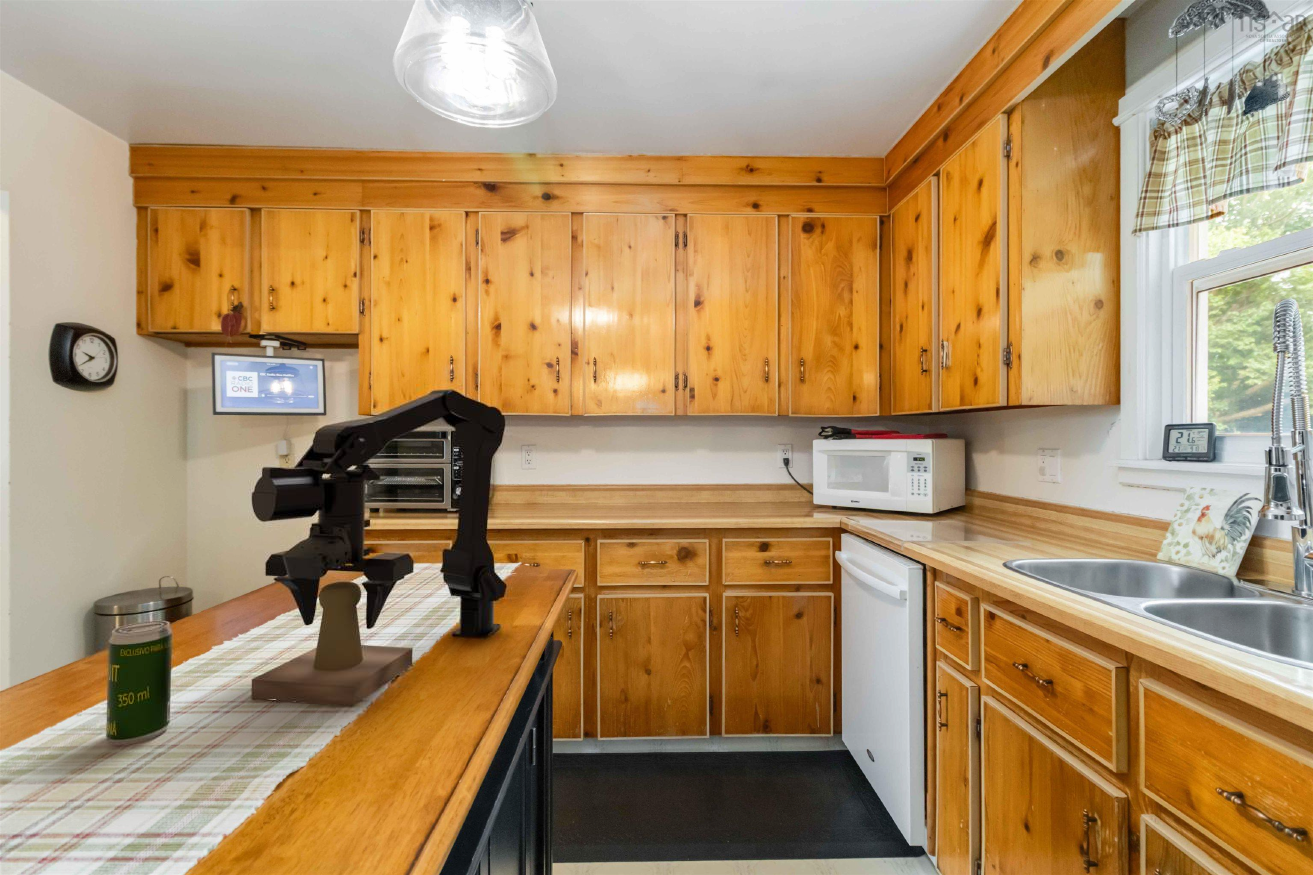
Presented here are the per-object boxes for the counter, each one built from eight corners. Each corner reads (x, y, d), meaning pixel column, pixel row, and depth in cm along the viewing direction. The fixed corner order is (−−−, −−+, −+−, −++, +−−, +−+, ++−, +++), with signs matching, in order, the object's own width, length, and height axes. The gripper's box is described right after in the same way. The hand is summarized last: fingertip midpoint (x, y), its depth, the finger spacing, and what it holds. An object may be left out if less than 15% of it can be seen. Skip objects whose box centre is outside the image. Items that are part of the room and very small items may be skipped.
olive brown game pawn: (341, 672, 77) (343, 589, 77) (302, 668, 79) (304, 586, 79) (372, 656, 83) (374, 579, 83) (336, 652, 84) (338, 576, 85)
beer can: (164, 718, 69) (167, 617, 69) (174, 733, 66) (177, 626, 66) (102, 735, 65) (105, 627, 65) (109, 752, 62) (113, 638, 62)
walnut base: (325, 659, 89) (325, 642, 89) (412, 664, 87) (412, 647, 87) (251, 698, 75) (251, 679, 75) (352, 706, 73) (353, 686, 73)
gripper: (232, 519, 74) (229, 642, 74) (369, 524, 72) (366, 650, 72) (296, 509, 85) (293, 616, 85) (416, 513, 83) (414, 623, 83)
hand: (339, 626), depth 81 cm, fingers open, 9 cm apart
